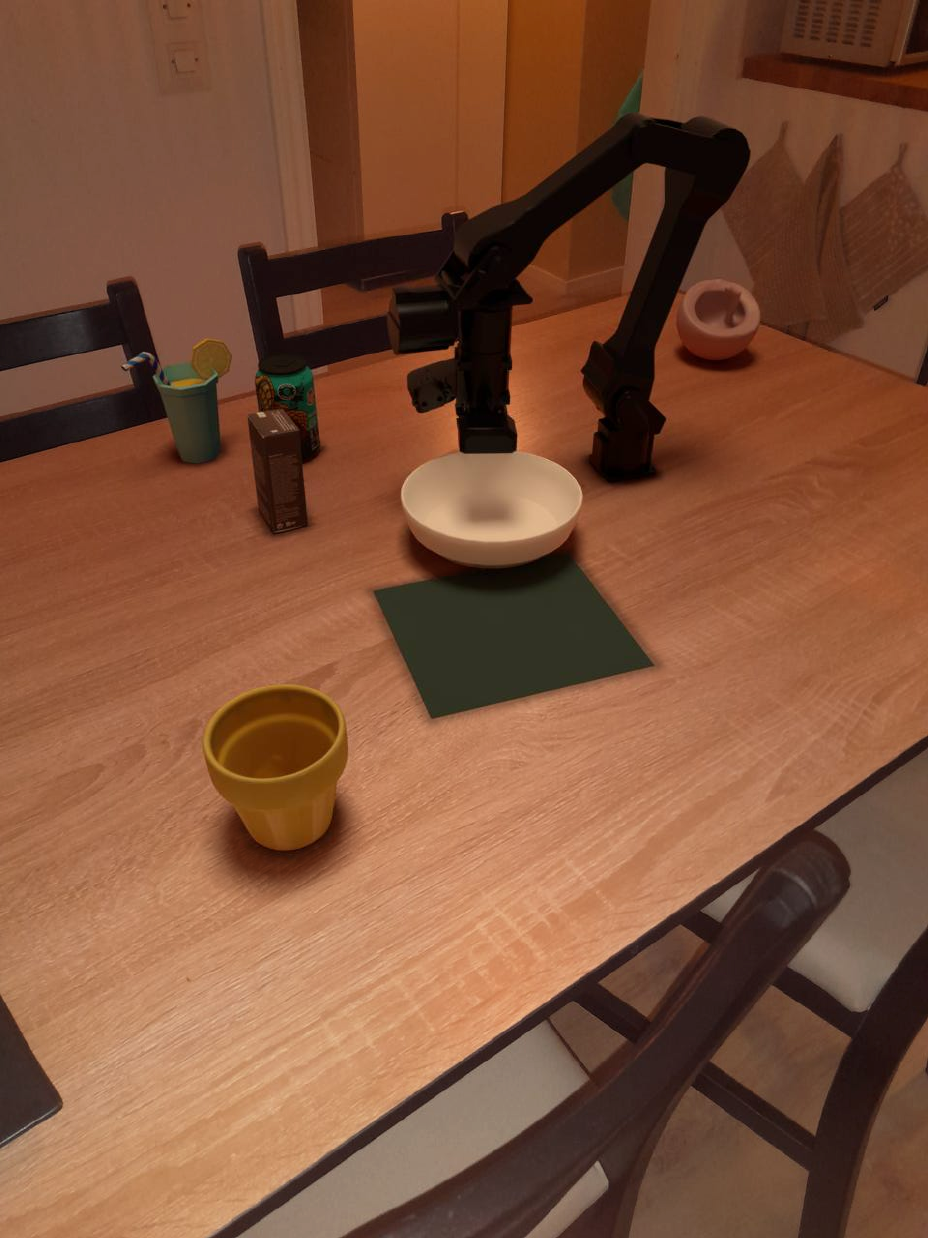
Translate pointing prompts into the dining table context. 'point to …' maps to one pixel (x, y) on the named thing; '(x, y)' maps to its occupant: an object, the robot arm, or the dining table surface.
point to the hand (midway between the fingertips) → (480, 467)
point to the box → (278, 469)
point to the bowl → (491, 507)
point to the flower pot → (278, 761)
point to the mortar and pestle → (717, 319)
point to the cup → (192, 398)
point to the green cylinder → (290, 395)
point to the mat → (506, 633)
